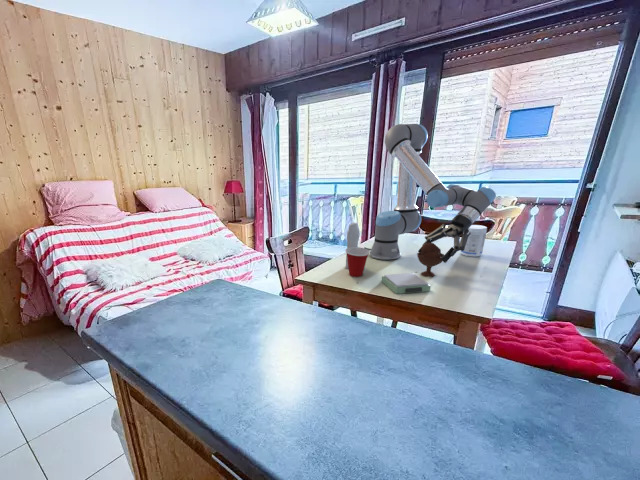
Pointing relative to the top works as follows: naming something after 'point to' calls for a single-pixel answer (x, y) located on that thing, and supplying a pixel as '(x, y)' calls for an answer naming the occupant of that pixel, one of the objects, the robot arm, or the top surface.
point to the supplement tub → (475, 241)
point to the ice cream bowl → (430, 257)
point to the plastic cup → (356, 260)
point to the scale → (405, 283)
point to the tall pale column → (352, 237)
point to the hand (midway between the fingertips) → (431, 256)
